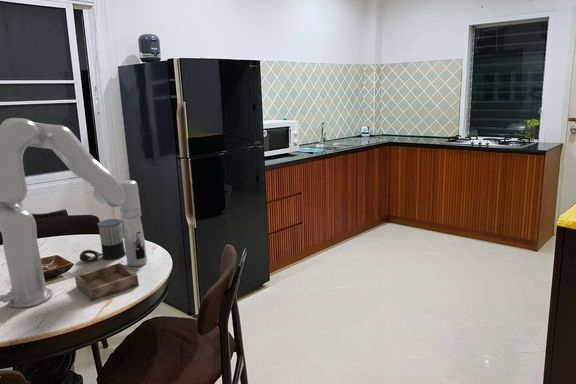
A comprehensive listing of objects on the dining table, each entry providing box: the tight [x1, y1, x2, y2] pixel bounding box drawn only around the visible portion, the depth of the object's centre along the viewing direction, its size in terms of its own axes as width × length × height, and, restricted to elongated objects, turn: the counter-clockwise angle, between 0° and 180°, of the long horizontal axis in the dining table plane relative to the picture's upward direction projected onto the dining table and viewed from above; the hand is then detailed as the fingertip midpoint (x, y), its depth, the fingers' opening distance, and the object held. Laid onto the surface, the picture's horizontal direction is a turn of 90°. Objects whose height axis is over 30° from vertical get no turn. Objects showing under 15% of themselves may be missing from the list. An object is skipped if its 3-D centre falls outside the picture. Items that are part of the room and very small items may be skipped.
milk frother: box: [79, 218, 126, 263], centre depth 180 cm, size 14×16×15 cm
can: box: [123, 237, 148, 268], centre depth 173 cm, size 8×8×12 cm
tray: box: [74, 262, 140, 302], centre depth 155 cm, size 16×16×4 cm
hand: (136, 255), depth 173 cm, fingers closed on can, 7 cm apart
